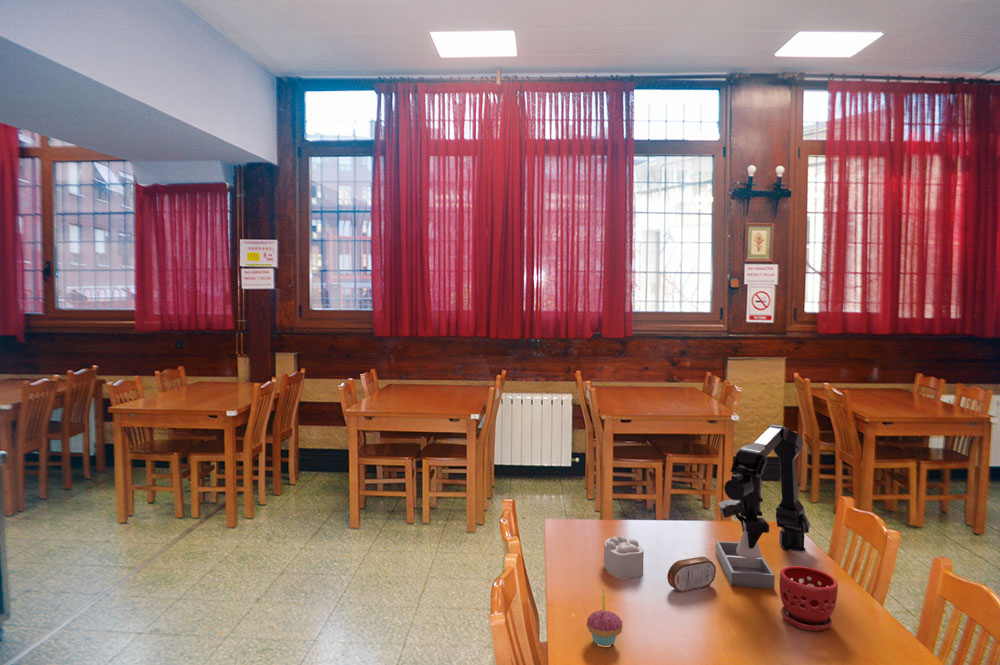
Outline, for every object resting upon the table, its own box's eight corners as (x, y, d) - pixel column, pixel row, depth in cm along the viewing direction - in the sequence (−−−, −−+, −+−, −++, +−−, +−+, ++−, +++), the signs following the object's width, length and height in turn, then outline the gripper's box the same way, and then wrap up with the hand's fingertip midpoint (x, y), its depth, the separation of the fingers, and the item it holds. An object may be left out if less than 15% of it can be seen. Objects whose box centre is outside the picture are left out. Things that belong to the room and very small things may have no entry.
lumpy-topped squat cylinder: (615, 580, 181) (615, 551, 180) (597, 561, 194) (597, 534, 193) (647, 576, 184) (648, 547, 183) (627, 557, 196) (628, 530, 196)
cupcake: (583, 633, 153) (583, 585, 152) (617, 631, 154) (617, 584, 153) (591, 653, 144) (591, 603, 144) (627, 651, 145) (627, 601, 144)
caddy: (753, 555, 198) (754, 543, 197) (774, 589, 176) (774, 575, 175) (715, 553, 199) (715, 541, 199) (731, 586, 177) (731, 572, 177)
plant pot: (834, 641, 150) (836, 593, 149) (774, 625, 157) (776, 579, 156) (838, 617, 161) (839, 572, 160) (782, 603, 168) (783, 560, 167)
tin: (710, 581, 180) (710, 553, 180) (717, 586, 177) (718, 557, 177) (666, 590, 175) (666, 561, 174) (673, 595, 172) (673, 566, 171)
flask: (757, 549, 185) (758, 516, 184) (765, 560, 178) (766, 525, 177) (732, 548, 186) (733, 515, 185) (739, 559, 178) (740, 525, 178)
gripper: (714, 480, 191) (713, 530, 192) (728, 501, 172) (726, 556, 173) (753, 482, 189) (751, 532, 190) (770, 503, 171) (769, 559, 172)
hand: (748, 544), depth 182 cm, fingers closed on flask, 5 cm apart
